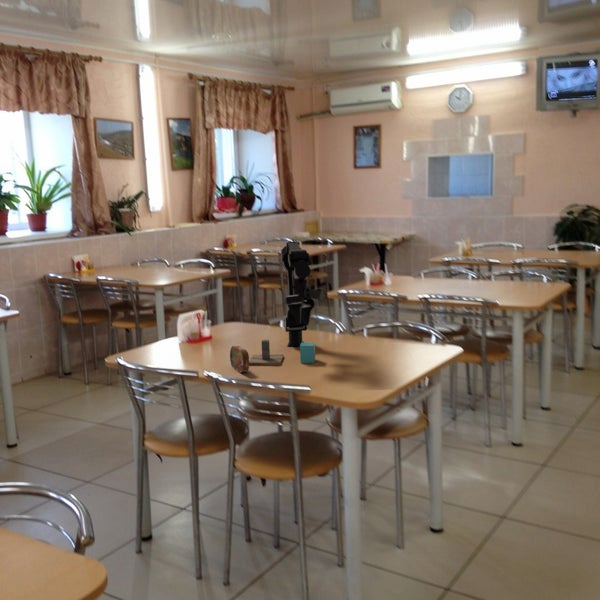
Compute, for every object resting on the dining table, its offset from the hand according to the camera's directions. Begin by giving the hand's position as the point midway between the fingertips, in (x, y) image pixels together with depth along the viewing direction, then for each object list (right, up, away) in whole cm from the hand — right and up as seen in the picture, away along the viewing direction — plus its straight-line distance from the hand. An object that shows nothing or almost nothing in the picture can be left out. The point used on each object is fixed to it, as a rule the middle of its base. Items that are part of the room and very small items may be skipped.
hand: (303, 324), depth 261 cm
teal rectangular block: (+2, -14, +2) cm, 14 cm away
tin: (-23, -17, -6) cm, 29 cm away
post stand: (-14, -14, +5) cm, 20 cm away
